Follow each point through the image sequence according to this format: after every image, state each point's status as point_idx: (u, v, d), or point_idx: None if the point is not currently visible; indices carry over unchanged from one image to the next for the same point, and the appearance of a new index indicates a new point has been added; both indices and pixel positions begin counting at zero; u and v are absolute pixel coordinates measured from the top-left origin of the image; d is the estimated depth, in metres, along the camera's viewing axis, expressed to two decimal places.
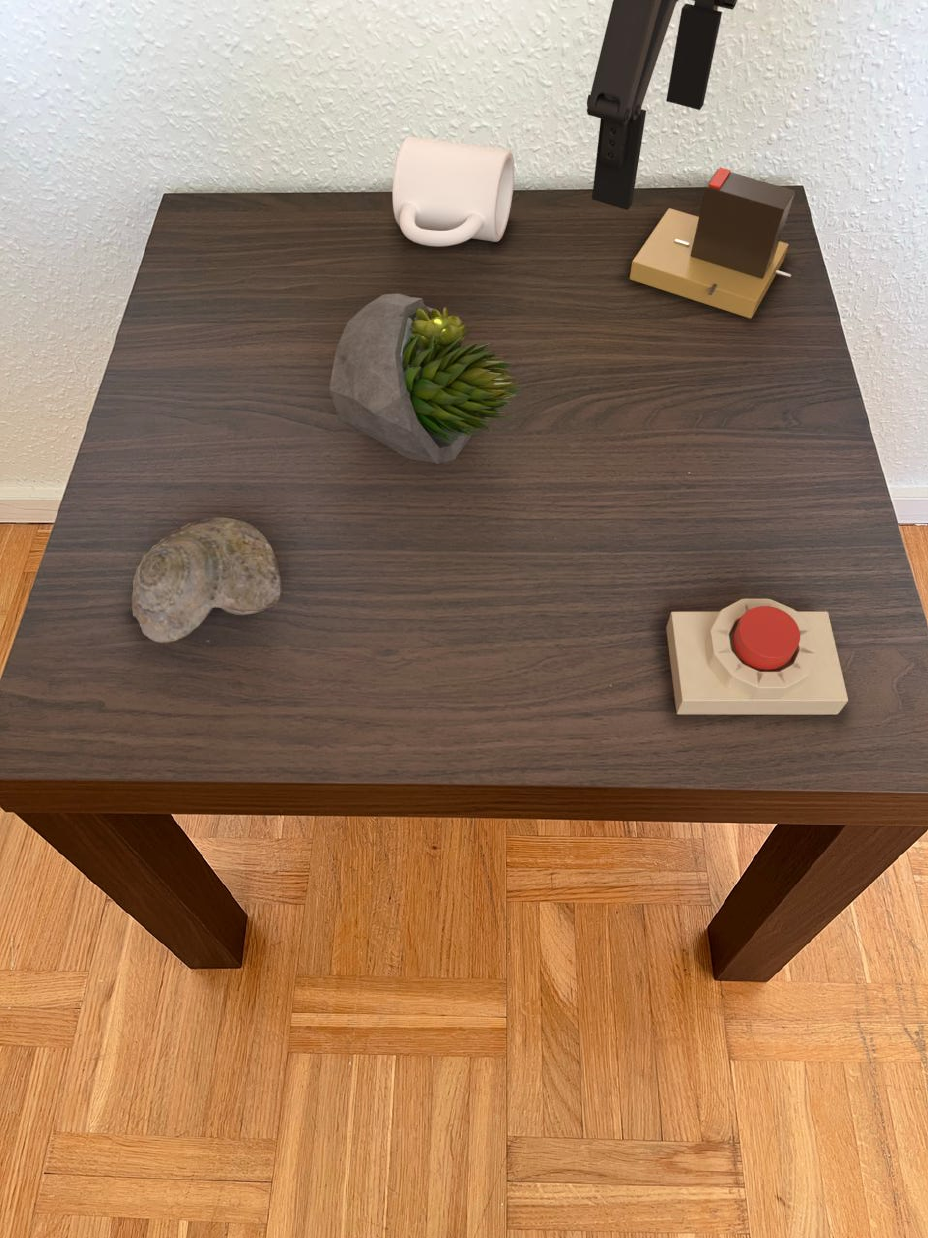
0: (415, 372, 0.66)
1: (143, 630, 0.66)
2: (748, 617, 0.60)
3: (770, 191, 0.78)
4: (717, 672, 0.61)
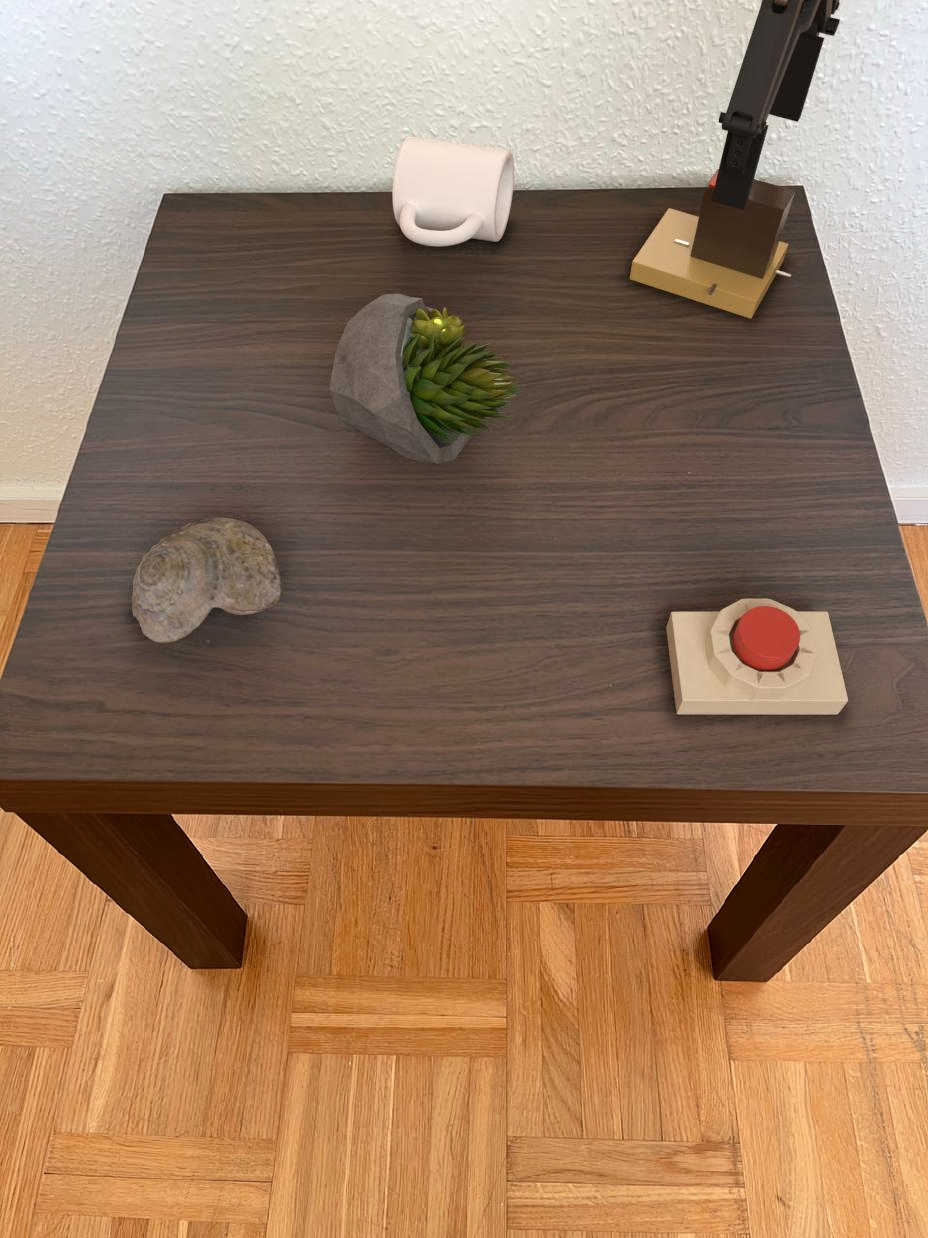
0: (415, 372, 0.66)
1: (143, 630, 0.66)
2: (748, 617, 0.60)
3: (770, 191, 0.78)
4: (717, 672, 0.61)
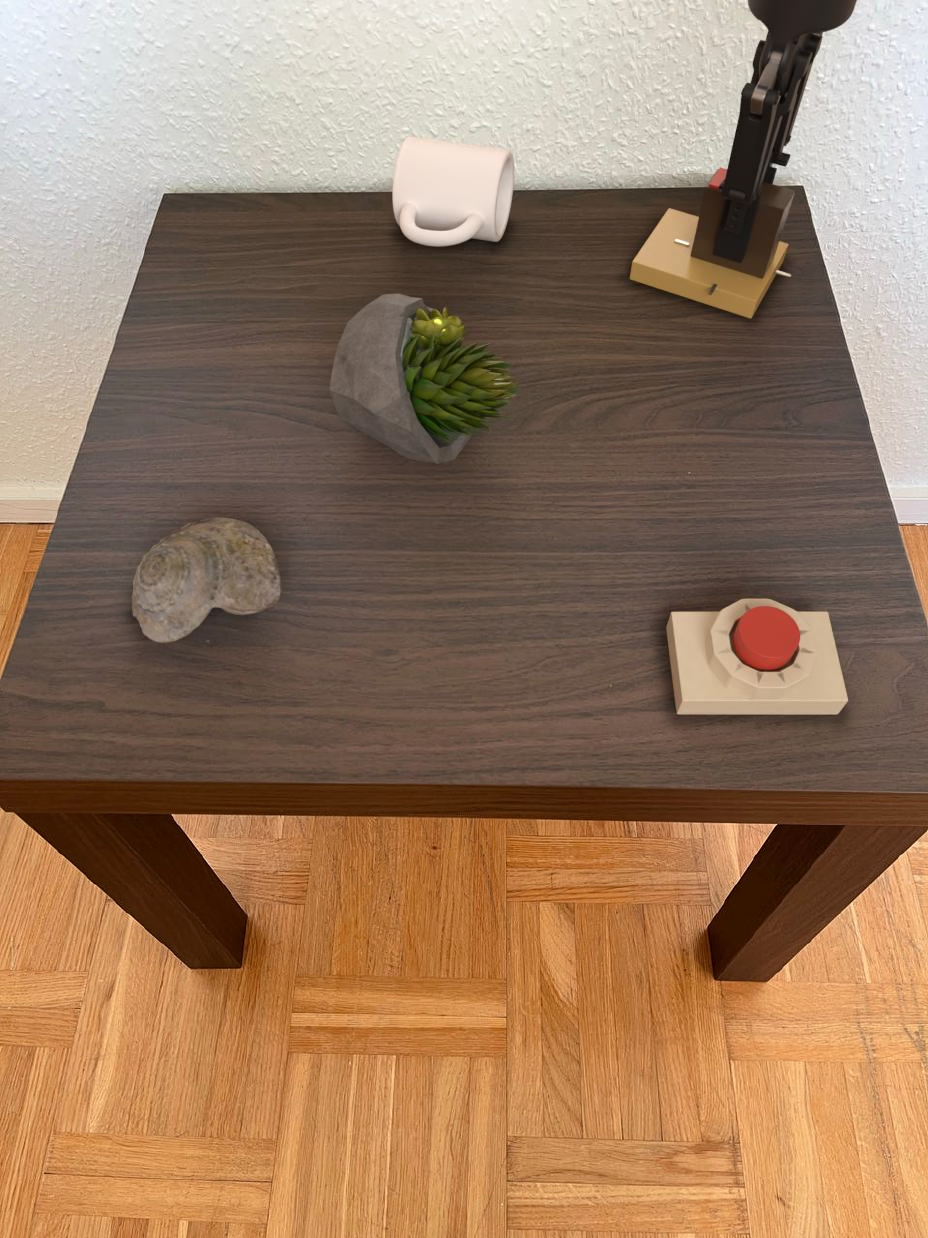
0: (415, 372, 0.66)
1: (143, 630, 0.66)
2: (748, 617, 0.60)
3: (770, 191, 0.78)
4: (717, 672, 0.61)
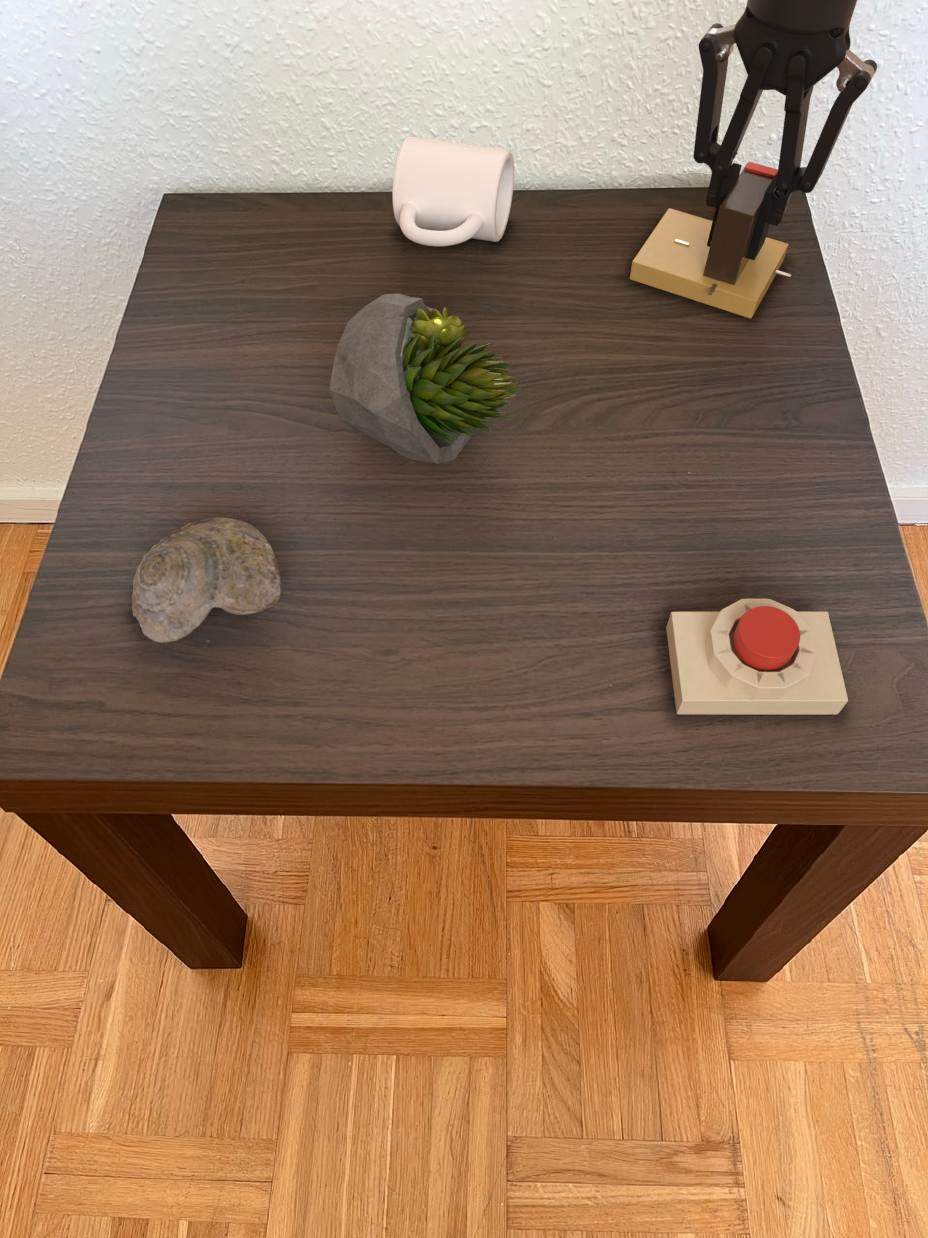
0: (415, 372, 0.66)
1: (143, 630, 0.66)
2: (748, 617, 0.60)
3: (747, 200, 0.77)
4: (717, 672, 0.61)
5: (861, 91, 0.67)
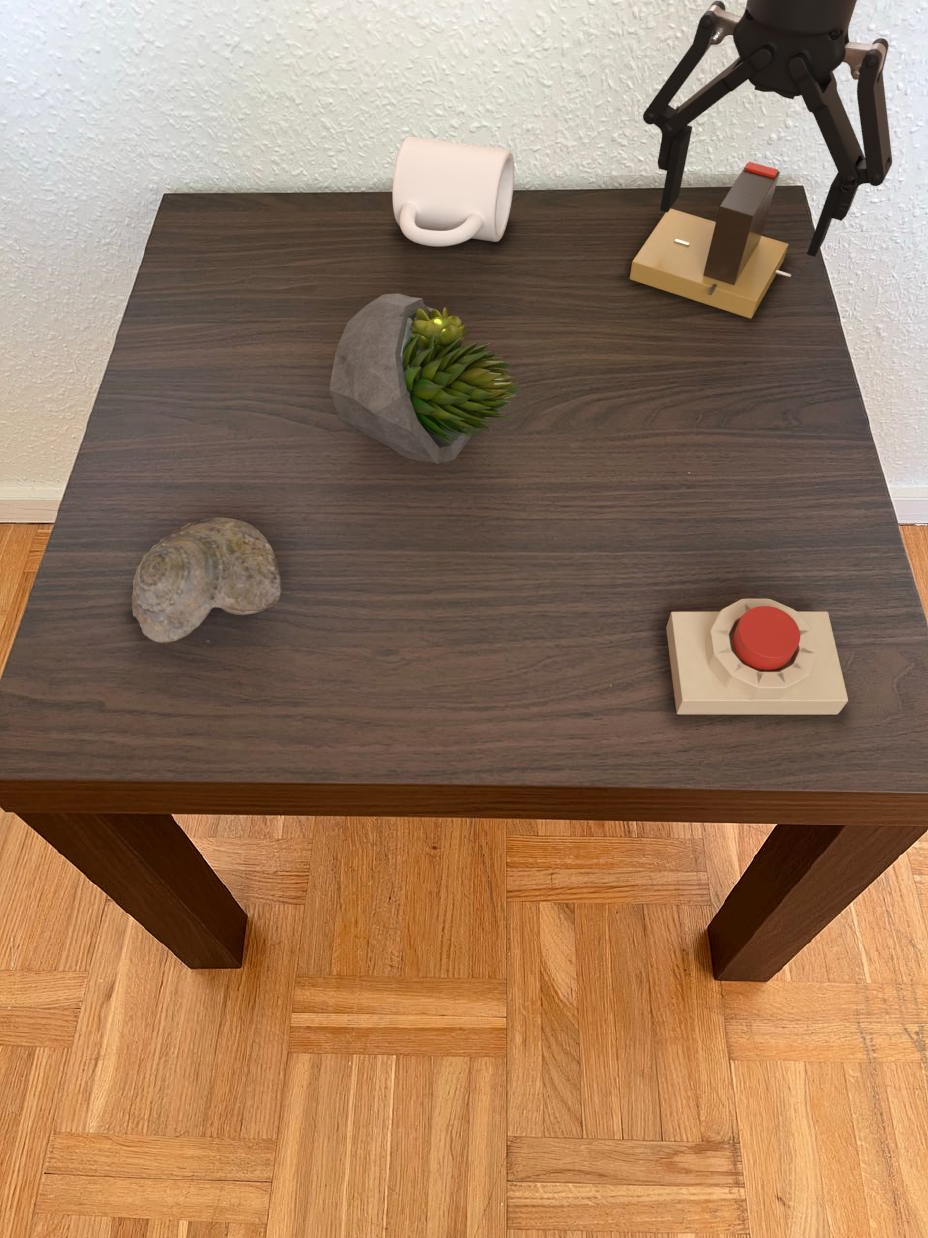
0: (415, 372, 0.66)
1: (143, 630, 0.66)
2: (748, 617, 0.60)
3: (747, 200, 0.77)
4: (717, 672, 0.61)
5: (876, 67, 0.66)
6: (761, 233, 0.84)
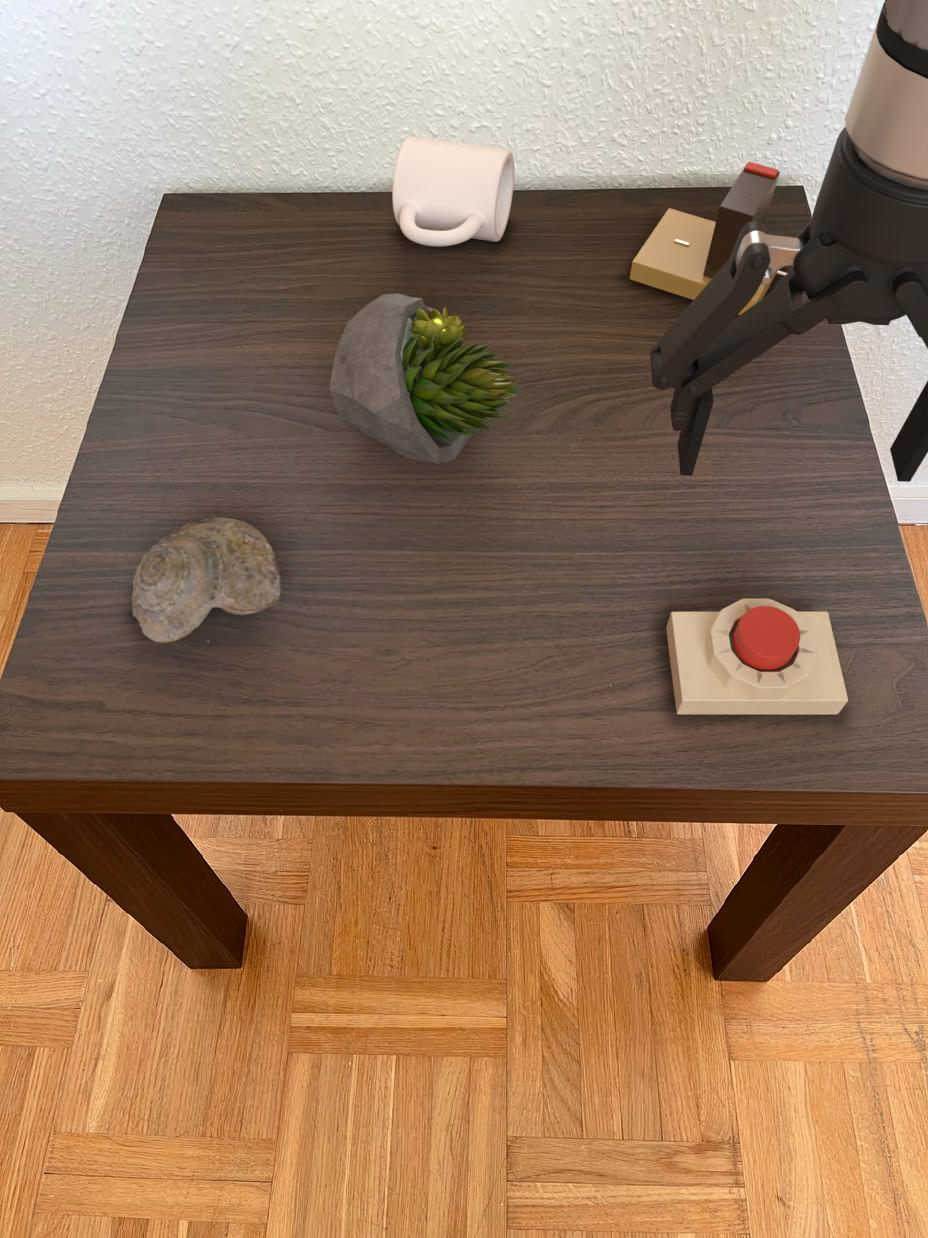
0: (415, 372, 0.66)
1: (143, 630, 0.66)
2: (748, 617, 0.60)
3: (747, 200, 0.77)
4: (717, 672, 0.61)
5: None
6: None
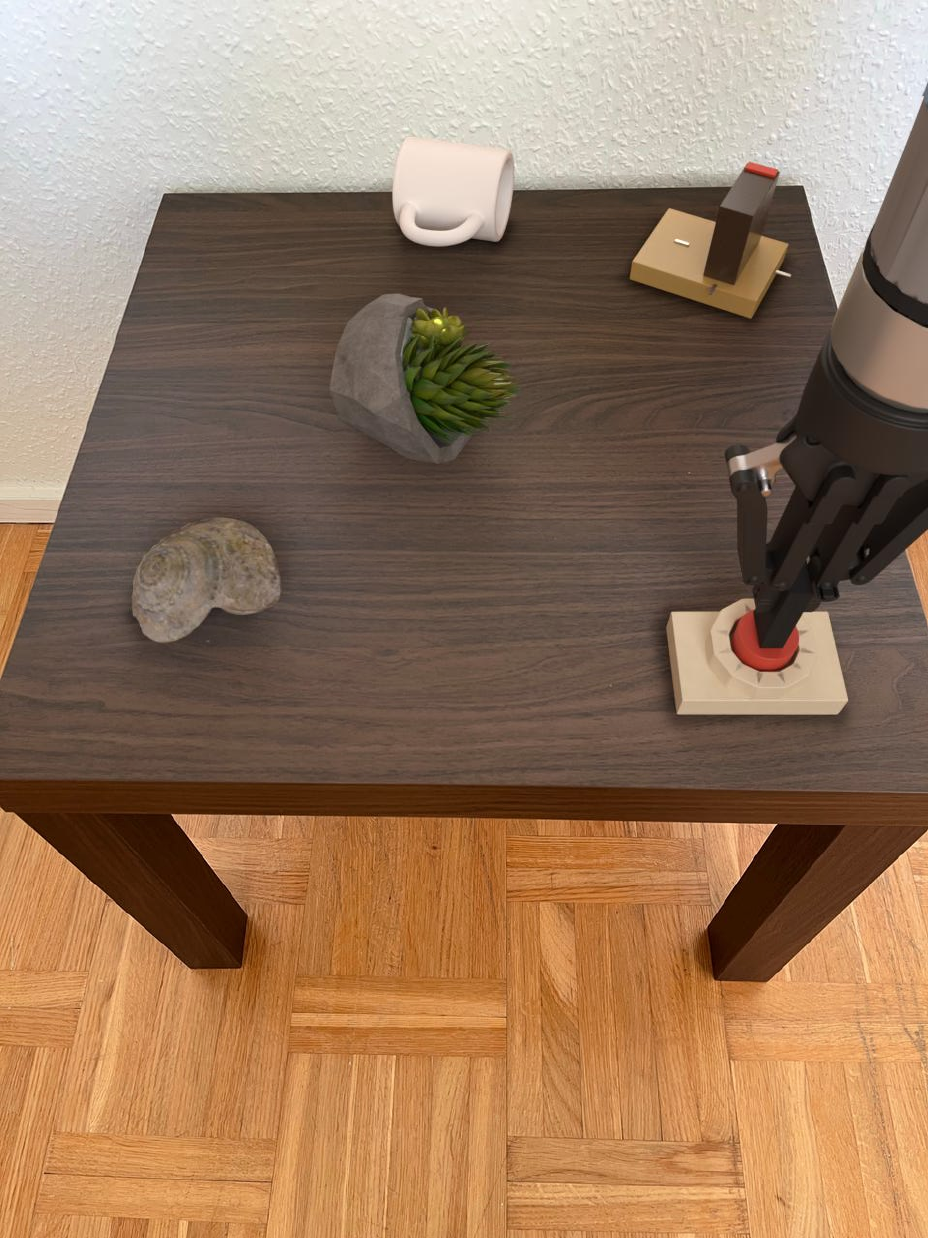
0: (415, 372, 0.66)
1: (143, 630, 0.66)
2: (747, 619, 0.60)
3: (747, 200, 0.77)
4: (717, 672, 0.61)
5: None
6: (761, 233, 0.84)
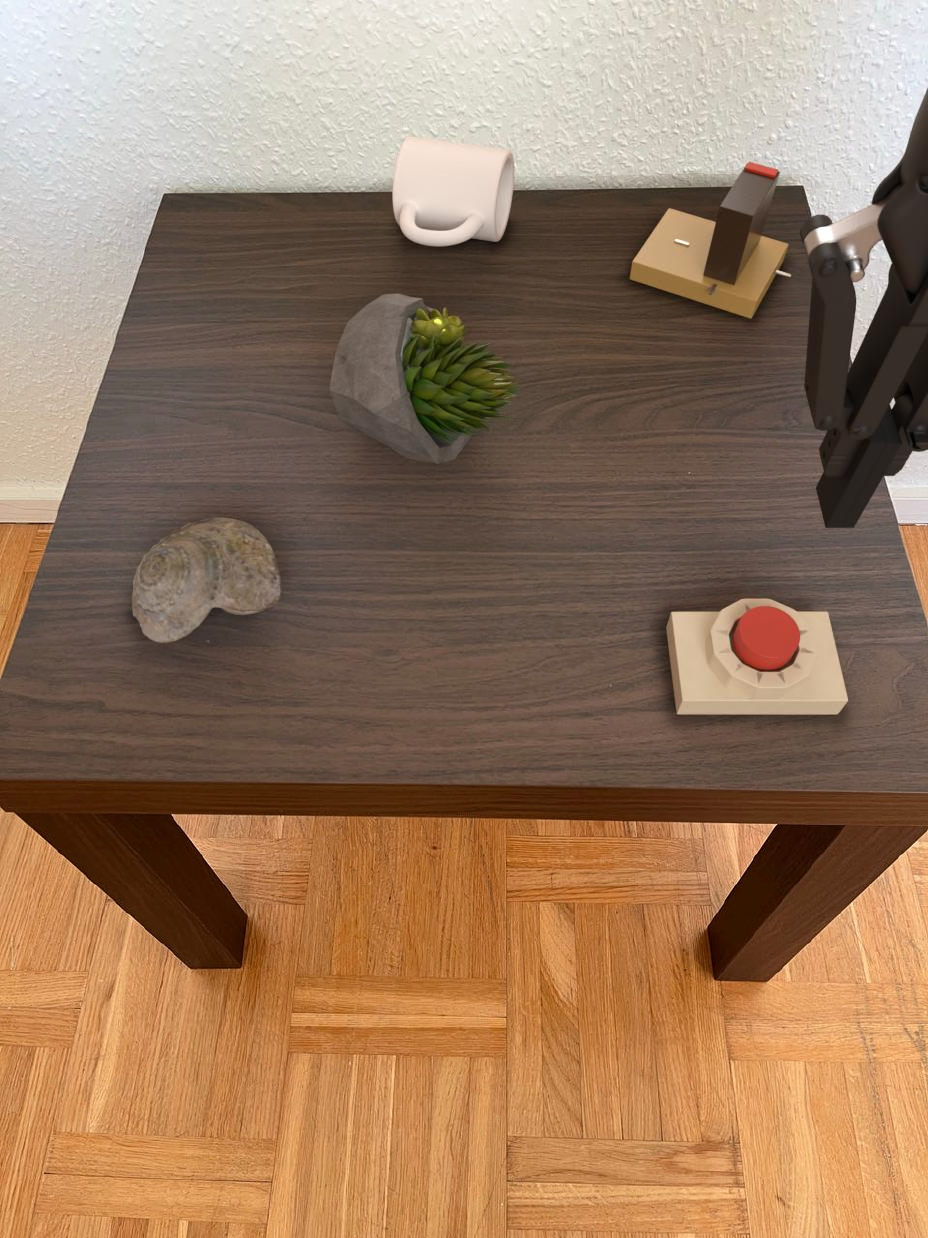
0: (415, 372, 0.66)
1: (143, 630, 0.66)
2: (748, 617, 0.60)
3: (747, 200, 0.77)
4: (717, 672, 0.61)
5: None
6: (761, 233, 0.84)
